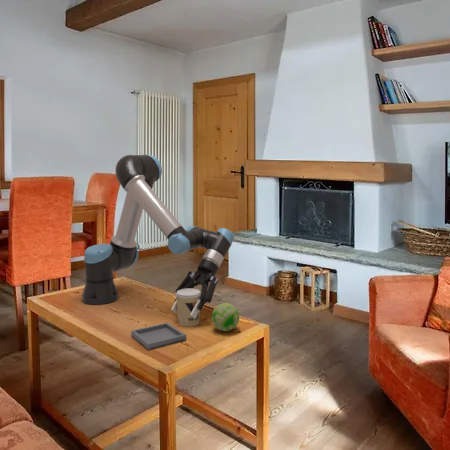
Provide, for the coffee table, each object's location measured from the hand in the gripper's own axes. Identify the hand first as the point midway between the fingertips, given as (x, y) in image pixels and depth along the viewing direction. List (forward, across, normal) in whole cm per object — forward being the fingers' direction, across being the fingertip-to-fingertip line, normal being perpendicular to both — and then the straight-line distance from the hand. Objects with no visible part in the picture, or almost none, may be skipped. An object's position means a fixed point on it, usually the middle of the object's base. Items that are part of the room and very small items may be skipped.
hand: (183, 313), depth 169 cm
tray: (+13, -2, +7) cm, 15 cm away
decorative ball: (-1, -16, -7) cm, 17 cm away
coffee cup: (+1, 0, -6) cm, 6 cm away
